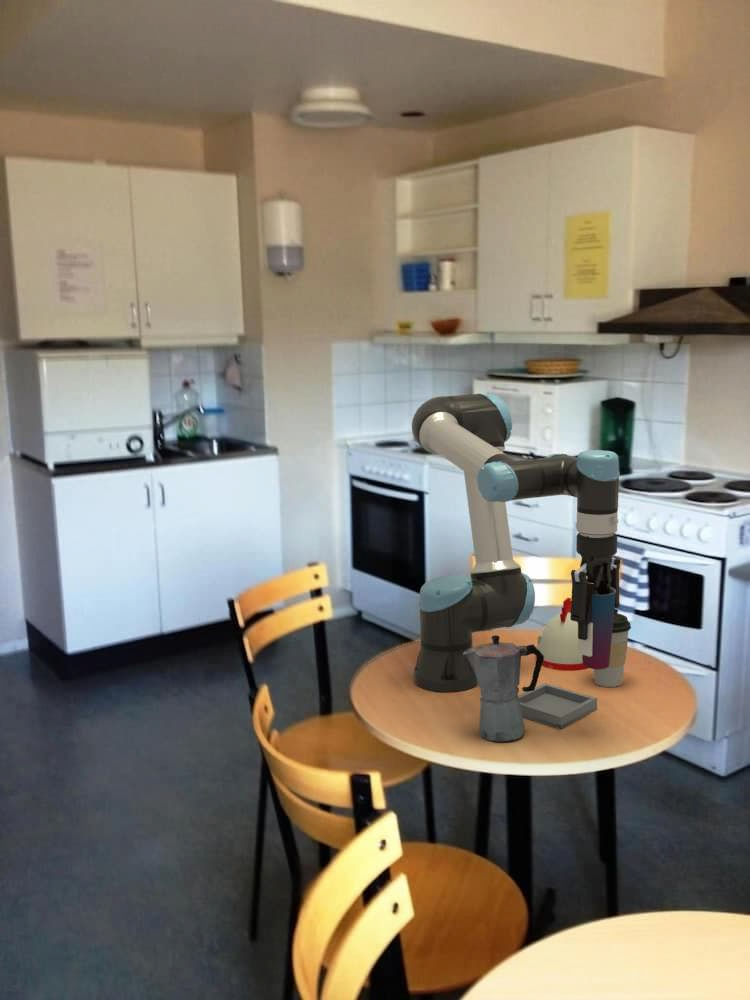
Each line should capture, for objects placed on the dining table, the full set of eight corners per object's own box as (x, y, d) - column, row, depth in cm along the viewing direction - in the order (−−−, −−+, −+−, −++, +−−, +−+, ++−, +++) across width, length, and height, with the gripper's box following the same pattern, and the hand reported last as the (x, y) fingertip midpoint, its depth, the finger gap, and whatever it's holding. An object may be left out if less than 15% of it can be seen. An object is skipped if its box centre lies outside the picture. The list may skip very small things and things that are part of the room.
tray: (508, 712, 194) (508, 700, 193) (545, 693, 203) (545, 683, 202) (561, 729, 184) (561, 717, 184) (597, 709, 193) (597, 698, 193)
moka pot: (463, 723, 189) (461, 628, 185) (539, 722, 188) (539, 627, 184) (465, 744, 179) (464, 644, 176) (546, 743, 179) (546, 642, 175)
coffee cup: (631, 691, 203) (632, 624, 200) (586, 689, 204) (587, 623, 202) (628, 675, 212) (629, 611, 209) (585, 673, 213) (586, 610, 211)
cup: (584, 656, 185) (585, 583, 182) (618, 661, 182) (620, 587, 179) (573, 667, 180) (574, 592, 177) (607, 673, 176) (609, 596, 173)
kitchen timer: (601, 654, 226) (602, 594, 223) (588, 674, 214) (589, 611, 211) (545, 648, 232) (545, 589, 229) (529, 666, 219) (529, 605, 217)
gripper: (586, 545, 167) (583, 668, 171) (640, 527, 180) (637, 641, 184) (550, 539, 172) (549, 658, 176) (606, 522, 185) (604, 633, 189)
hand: (594, 649), depth 180 cm, fingers closed on cup, 6 cm apart
